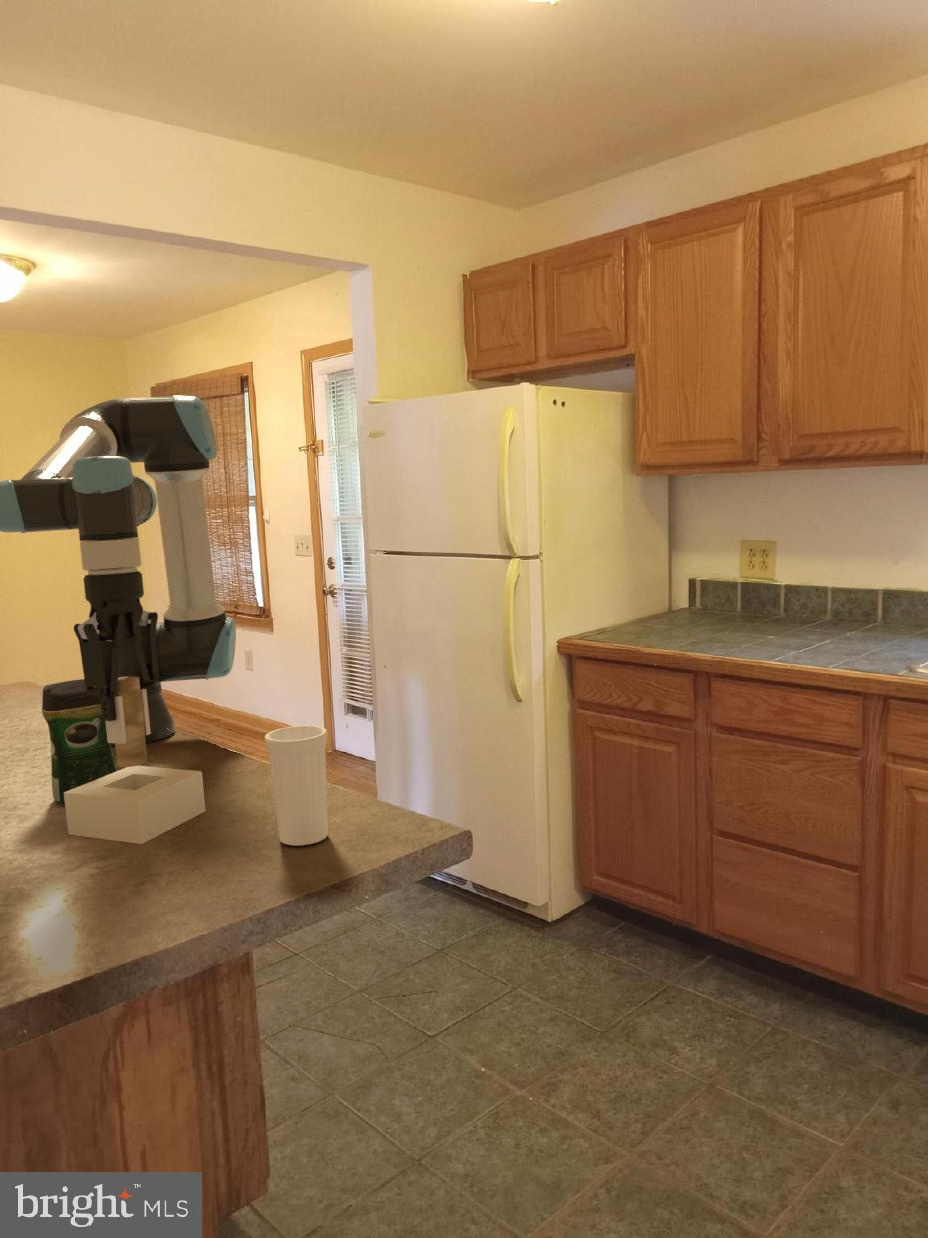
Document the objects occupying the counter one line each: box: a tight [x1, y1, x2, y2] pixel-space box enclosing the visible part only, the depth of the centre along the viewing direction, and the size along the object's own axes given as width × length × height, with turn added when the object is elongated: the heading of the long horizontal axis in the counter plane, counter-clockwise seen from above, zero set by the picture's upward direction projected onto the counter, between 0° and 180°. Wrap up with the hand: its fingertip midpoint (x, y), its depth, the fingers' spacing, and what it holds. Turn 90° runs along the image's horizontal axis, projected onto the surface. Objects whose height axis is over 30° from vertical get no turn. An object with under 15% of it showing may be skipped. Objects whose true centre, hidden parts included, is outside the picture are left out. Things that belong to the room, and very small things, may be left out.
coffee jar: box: [41, 678, 118, 806], centre depth 140 cm, size 10×8×19 cm
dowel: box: [114, 676, 148, 768], centre depth 126 cm, size 4×4×12 cm
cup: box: [264, 725, 329, 846], centre depth 118 cm, size 8×8×14 cm
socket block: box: [64, 765, 207, 845], centre depth 128 cm, size 13×13×6 cm
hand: (129, 738), depth 126 cm, fingers closed on dowel, 4 cm apart
